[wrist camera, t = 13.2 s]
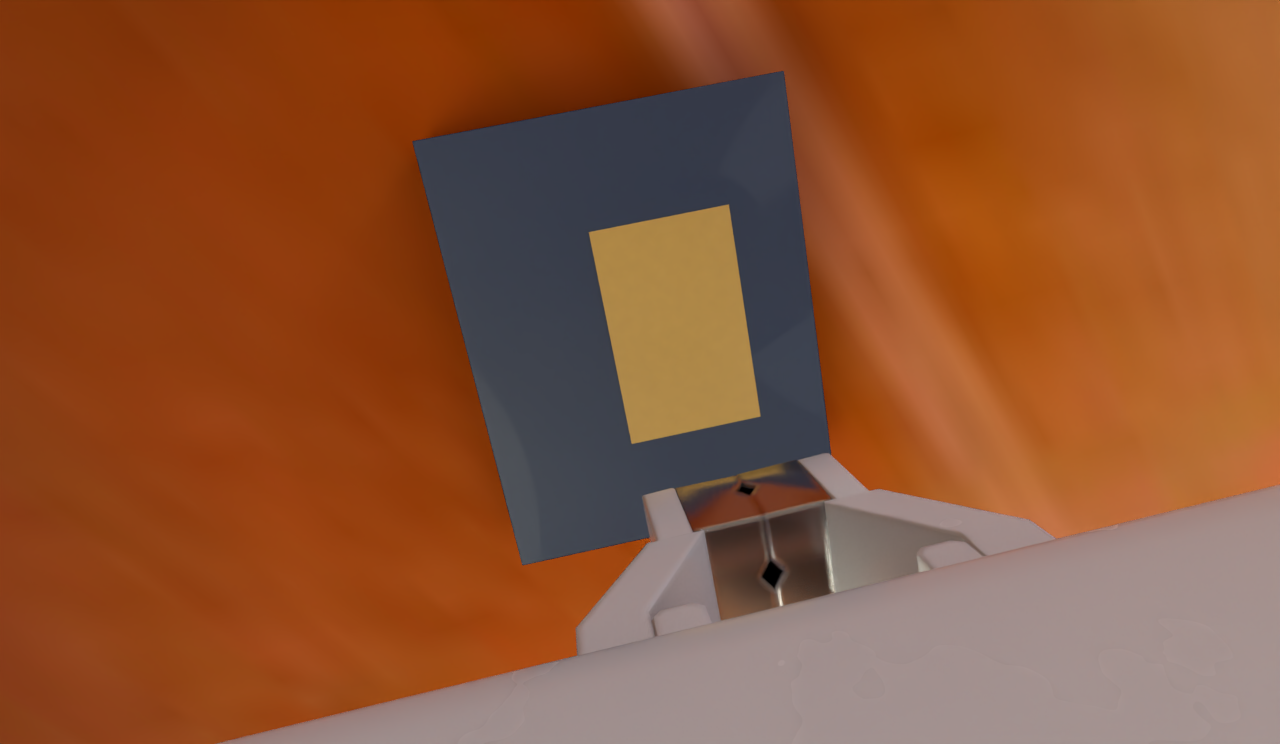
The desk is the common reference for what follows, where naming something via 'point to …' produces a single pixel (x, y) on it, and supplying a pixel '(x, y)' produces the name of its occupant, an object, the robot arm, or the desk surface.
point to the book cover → (630, 302)
